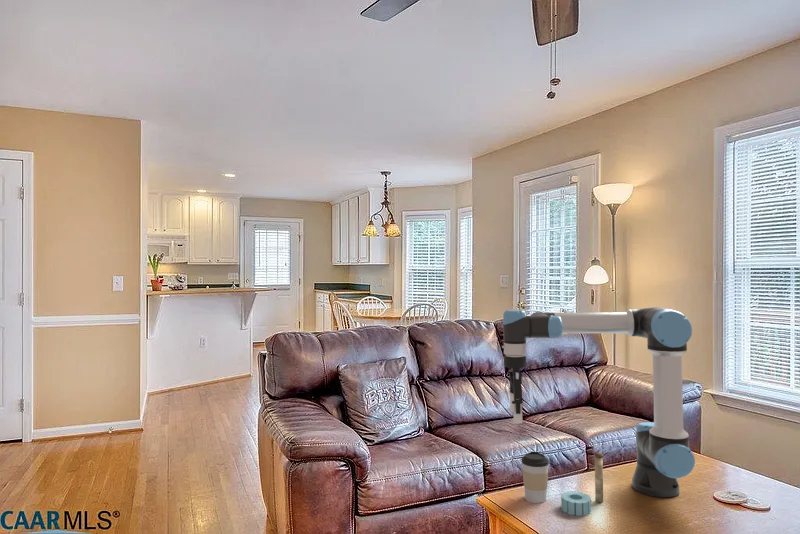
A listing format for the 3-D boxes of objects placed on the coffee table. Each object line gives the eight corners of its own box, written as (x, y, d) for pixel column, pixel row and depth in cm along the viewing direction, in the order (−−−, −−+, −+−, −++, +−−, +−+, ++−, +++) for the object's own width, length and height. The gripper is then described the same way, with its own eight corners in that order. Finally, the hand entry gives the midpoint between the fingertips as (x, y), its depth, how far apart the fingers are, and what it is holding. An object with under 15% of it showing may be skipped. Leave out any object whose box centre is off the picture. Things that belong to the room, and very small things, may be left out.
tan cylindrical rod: (602, 499, 178) (601, 452, 178) (604, 502, 175) (603, 454, 175) (594, 499, 178) (593, 452, 178) (596, 502, 176) (595, 454, 176)
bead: (587, 503, 175) (587, 491, 175) (593, 516, 166) (593, 503, 166) (559, 502, 176) (559, 490, 176) (564, 515, 167) (564, 502, 167)
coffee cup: (550, 505, 174) (549, 460, 174) (522, 503, 176) (521, 458, 176) (548, 494, 183) (547, 451, 183) (521, 492, 185) (520, 449, 185)
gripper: (501, 349, 192) (502, 407, 192) (506, 361, 167) (507, 427, 167) (522, 349, 191) (523, 408, 191) (530, 361, 167) (531, 428, 166)
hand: (516, 417), depth 179 cm, fingers open, 13 cm apart
